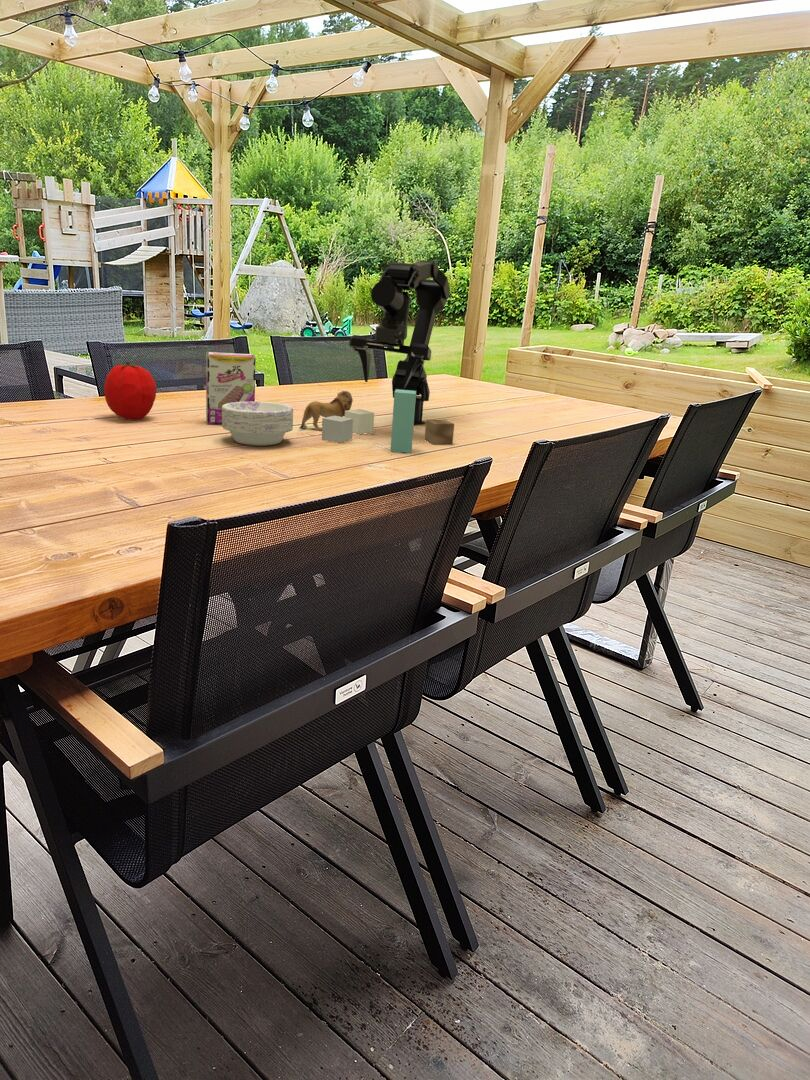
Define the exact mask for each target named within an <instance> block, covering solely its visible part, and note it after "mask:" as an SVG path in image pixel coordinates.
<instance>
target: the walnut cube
mask: <svg viewBox="0 0 810 1080" xmlns="http://www.w3.org/2000/svg"><path fill="white" fill-rule="evenodd" d="M425 422H426V423H425V429H424V441H425V440H426V442H427V441H428V442H427V443H429V444H430V445H432V446H442V445H443V446H445V445H447V446H449V445H450V446H451V445H452V446H453V443H454V431H455V423H453V422H452V421H449V420H448V419H425Z"/></svg>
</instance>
